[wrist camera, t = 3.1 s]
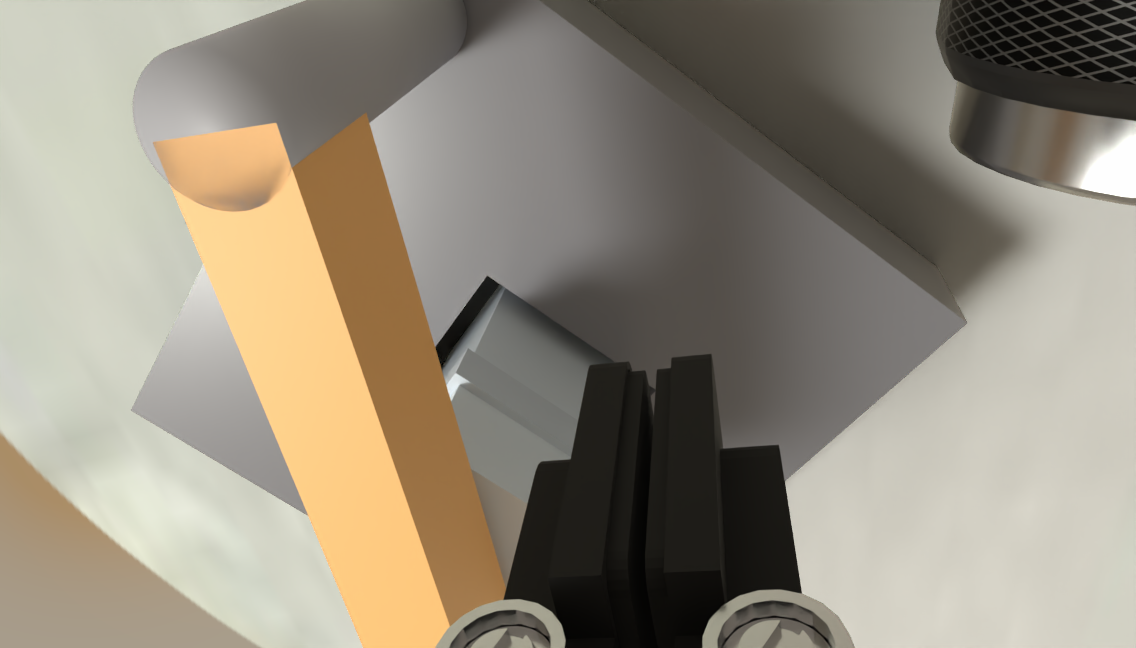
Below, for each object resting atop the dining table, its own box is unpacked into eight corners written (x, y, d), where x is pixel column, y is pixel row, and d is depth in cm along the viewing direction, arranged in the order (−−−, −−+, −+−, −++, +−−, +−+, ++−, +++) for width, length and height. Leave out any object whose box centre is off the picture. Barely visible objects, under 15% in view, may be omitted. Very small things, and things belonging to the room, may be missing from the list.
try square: (358, -26, 20) (104, 59, 12) (453, -45, 20) (259, 32, 11) (504, 501, 27) (413, 786, 19) (576, 498, 27) (514, 789, 19)
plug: (641, 333, 28) (610, 546, 19) (558, 427, 30) (497, 653, 22) (517, 247, 27) (426, 430, 19) (441, 350, 30) (330, 555, 21)
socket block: (937, 266, 25) (967, 322, 22) (579, 598, 34) (567, 669, 31) (433, -117, 22) (390, -113, 19) (187, 356, 31) (130, 410, 28)
